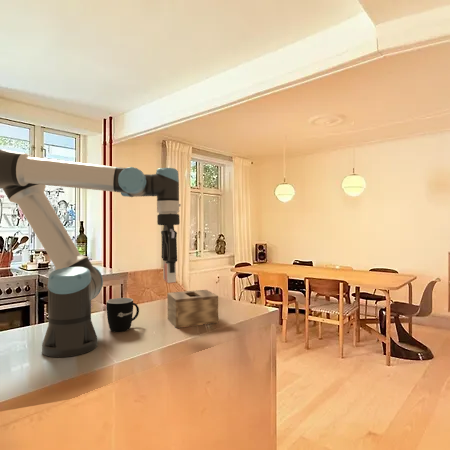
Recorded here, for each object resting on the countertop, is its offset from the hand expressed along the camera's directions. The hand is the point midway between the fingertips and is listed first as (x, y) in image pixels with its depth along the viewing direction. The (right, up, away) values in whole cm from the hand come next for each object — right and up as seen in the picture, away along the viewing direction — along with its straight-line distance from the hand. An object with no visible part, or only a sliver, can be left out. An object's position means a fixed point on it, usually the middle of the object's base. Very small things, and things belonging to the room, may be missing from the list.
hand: (169, 280), depth 123 cm
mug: (-16, -17, +3) cm, 24 cm away
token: (0, 0, 0) cm, 0 cm away
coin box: (+7, -17, +12) cm, 22 cm away
